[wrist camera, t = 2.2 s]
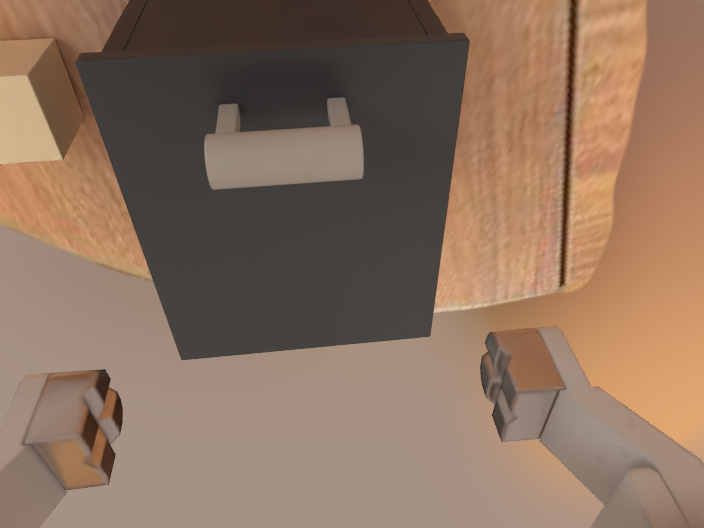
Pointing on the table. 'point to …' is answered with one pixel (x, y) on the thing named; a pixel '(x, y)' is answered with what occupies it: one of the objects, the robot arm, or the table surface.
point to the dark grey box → (265, 22)
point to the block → (35, 102)
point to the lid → (286, 184)
